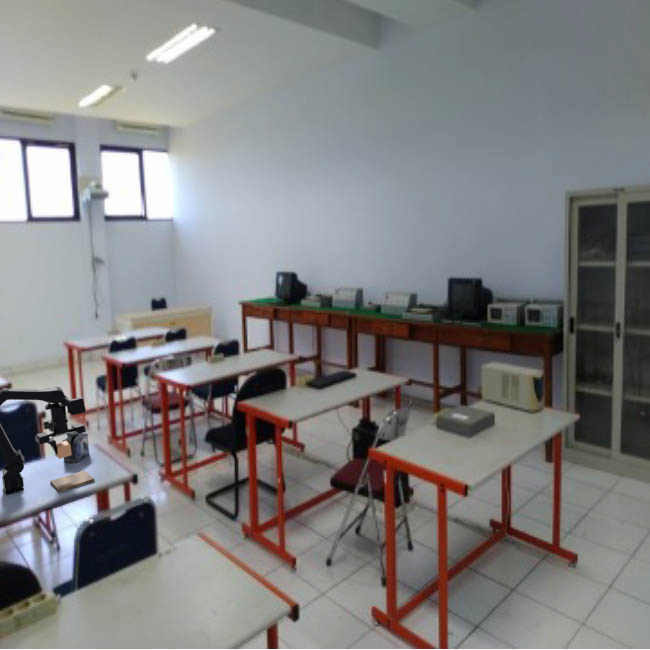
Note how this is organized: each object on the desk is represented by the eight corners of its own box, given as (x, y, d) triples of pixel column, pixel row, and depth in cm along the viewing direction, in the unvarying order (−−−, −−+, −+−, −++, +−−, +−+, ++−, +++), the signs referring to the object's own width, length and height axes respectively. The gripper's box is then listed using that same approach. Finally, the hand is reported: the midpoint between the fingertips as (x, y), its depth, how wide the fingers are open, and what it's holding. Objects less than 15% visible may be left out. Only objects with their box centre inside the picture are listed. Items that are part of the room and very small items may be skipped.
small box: (76, 463, 253) (73, 441, 251) (63, 462, 254) (61, 440, 252) (90, 454, 263) (88, 433, 261) (77, 453, 264) (75, 432, 262)
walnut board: (59, 492, 226) (58, 489, 225) (50, 483, 234) (50, 480, 233) (94, 481, 235) (93, 478, 235) (84, 472, 243) (84, 470, 243)
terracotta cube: (59, 458, 233) (57, 447, 232) (55, 455, 236) (53, 444, 235) (71, 455, 236) (70, 444, 235) (67, 451, 240) (65, 440, 239)
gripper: (74, 407, 245) (78, 441, 248) (28, 418, 232) (33, 453, 235) (84, 413, 237) (88, 448, 240) (37, 425, 225) (42, 461, 227)
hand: (63, 452), depth 236 cm, fingers closed on terracotta cube, 5 cm apart
